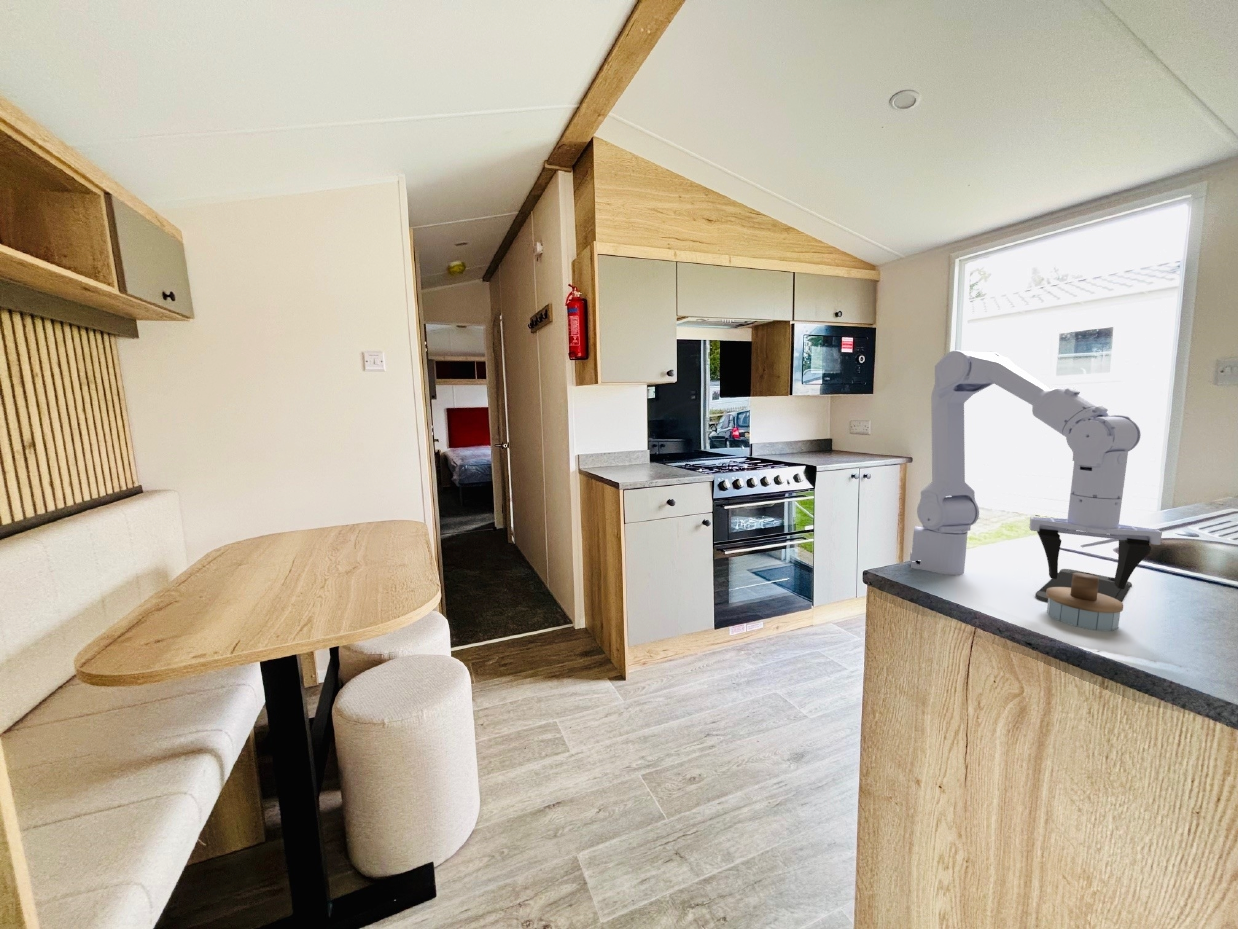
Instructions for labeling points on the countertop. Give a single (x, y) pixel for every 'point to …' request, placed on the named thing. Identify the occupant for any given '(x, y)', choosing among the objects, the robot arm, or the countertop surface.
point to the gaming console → (1066, 575)
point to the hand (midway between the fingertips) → (1085, 581)
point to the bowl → (1083, 617)
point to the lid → (1084, 595)
